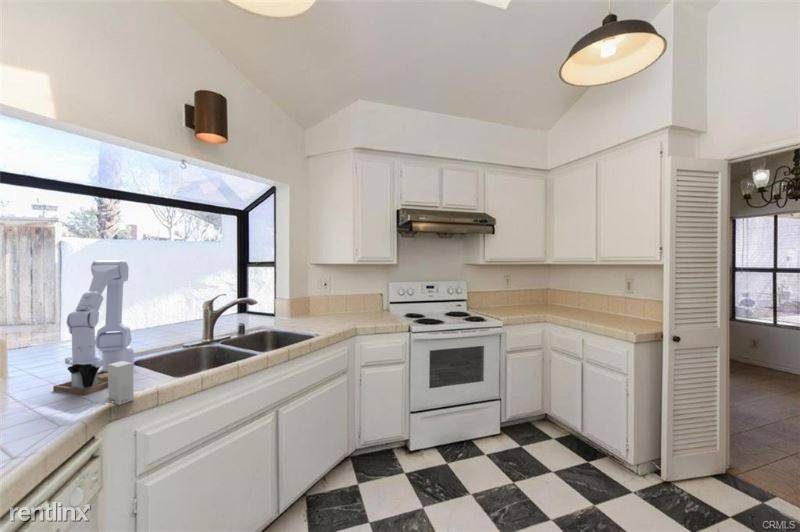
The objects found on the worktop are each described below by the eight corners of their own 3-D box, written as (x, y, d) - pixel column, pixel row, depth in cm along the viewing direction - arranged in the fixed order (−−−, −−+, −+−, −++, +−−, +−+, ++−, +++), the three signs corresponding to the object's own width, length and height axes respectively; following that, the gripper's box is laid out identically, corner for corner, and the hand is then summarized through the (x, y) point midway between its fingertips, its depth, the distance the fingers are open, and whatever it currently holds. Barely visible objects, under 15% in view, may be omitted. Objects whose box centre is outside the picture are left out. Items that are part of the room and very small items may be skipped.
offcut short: (106, 378, 123) (106, 372, 123) (112, 380, 121) (112, 375, 121) (95, 381, 120) (95, 375, 120) (101, 383, 118) (101, 378, 118)
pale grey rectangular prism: (92, 388, 118) (91, 368, 118) (97, 388, 117) (97, 368, 117) (71, 395, 112) (71, 374, 112) (77, 395, 111) (76, 374, 111)
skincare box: (134, 400, 108) (133, 362, 108) (118, 405, 105) (117, 367, 104) (123, 396, 111) (122, 360, 110) (107, 401, 107) (106, 364, 107)
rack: (103, 378, 127) (103, 370, 126) (132, 382, 123) (132, 374, 123) (53, 395, 112) (53, 386, 112) (84, 399, 109) (84, 390, 108)
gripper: (53, 347, 112) (54, 388, 112) (86, 351, 108) (87, 393, 109) (78, 342, 119) (79, 380, 119) (110, 345, 115) (111, 384, 116)
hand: (84, 386), depth 115 cm, fingers closed on pale grey rectangular prism, 2 cm apart
